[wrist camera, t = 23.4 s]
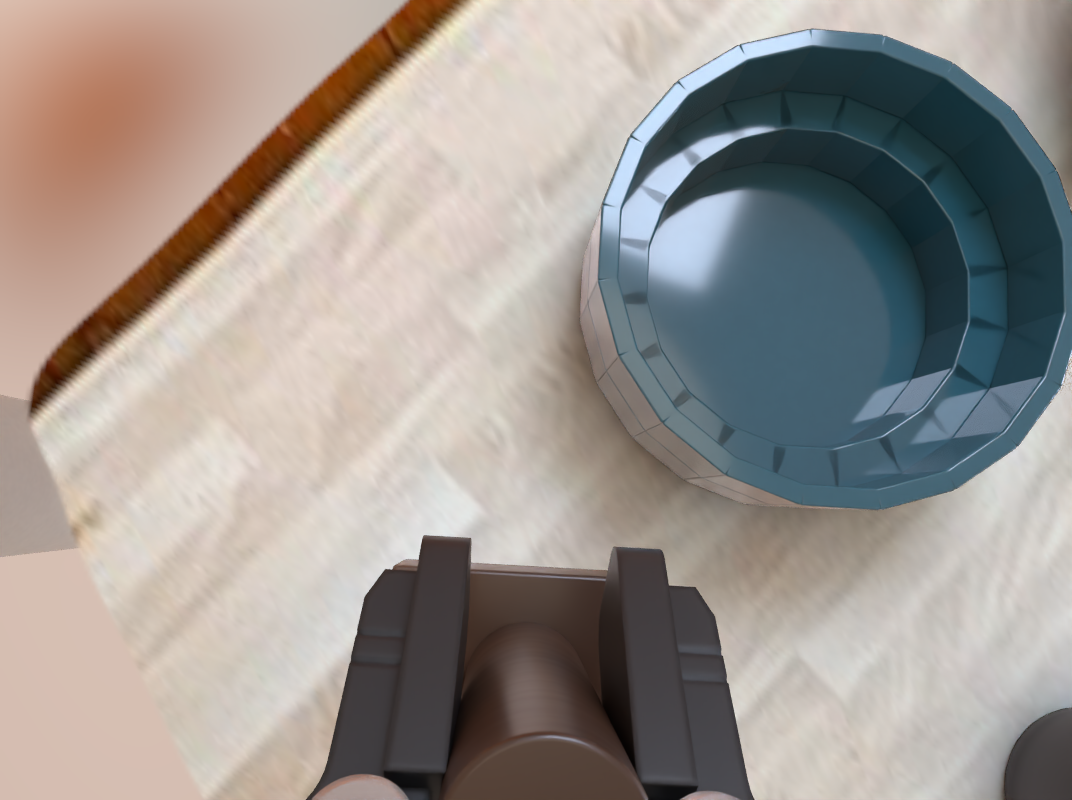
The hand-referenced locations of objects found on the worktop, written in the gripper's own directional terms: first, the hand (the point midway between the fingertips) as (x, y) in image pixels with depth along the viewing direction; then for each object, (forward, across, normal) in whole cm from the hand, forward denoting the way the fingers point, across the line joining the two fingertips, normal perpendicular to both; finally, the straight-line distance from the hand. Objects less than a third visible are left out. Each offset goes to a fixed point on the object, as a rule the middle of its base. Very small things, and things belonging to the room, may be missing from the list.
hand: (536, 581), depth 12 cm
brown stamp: (+3, 0, +6) cm, 6 cm away
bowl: (+17, -9, +5) cm, 20 cm away
